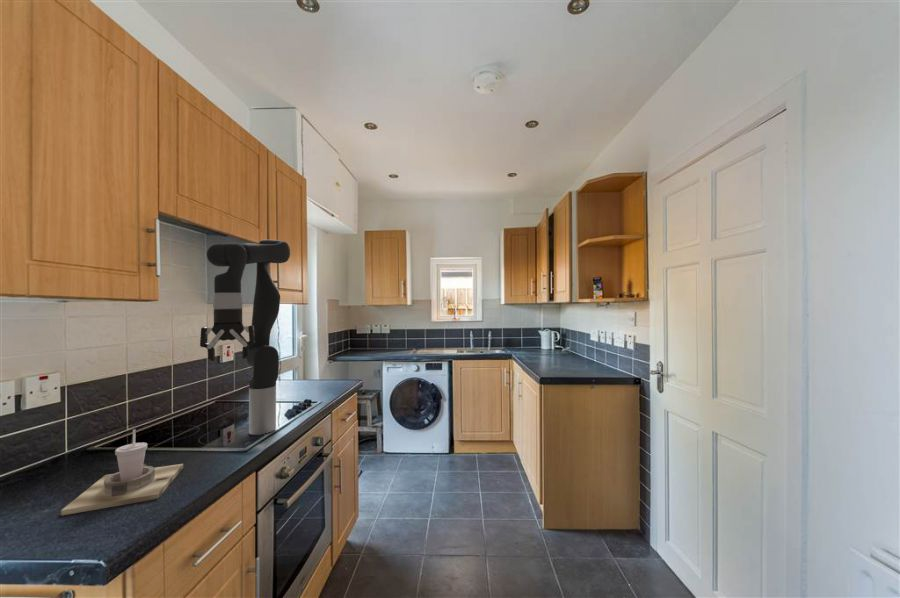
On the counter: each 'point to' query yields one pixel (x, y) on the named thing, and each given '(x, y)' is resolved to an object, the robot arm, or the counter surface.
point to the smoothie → (131, 459)
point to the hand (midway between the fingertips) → (228, 359)
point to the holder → (124, 489)
